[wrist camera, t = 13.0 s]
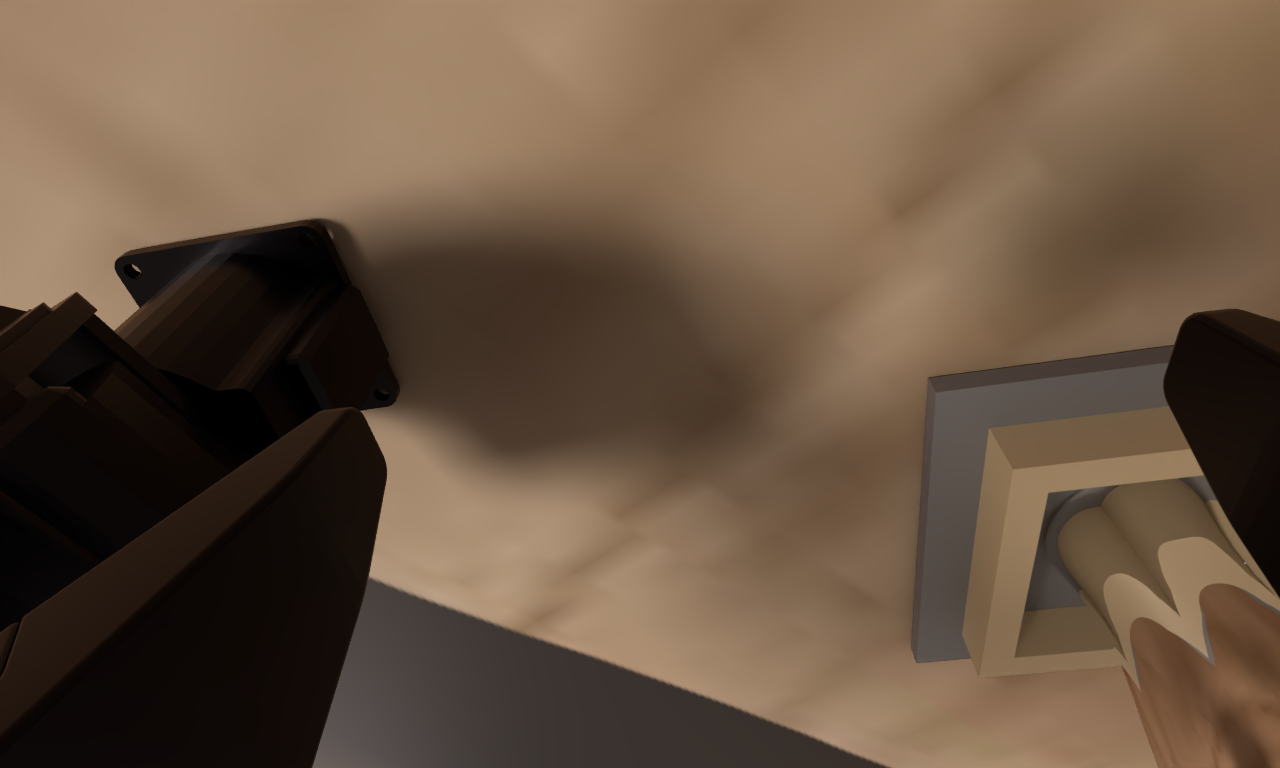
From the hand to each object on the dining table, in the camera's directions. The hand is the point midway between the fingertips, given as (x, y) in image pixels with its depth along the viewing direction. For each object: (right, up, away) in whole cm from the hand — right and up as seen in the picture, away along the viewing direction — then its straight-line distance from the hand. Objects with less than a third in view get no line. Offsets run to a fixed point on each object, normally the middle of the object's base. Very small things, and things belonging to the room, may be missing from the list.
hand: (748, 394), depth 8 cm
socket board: (+17, -5, +19) cm, 26 cm away
